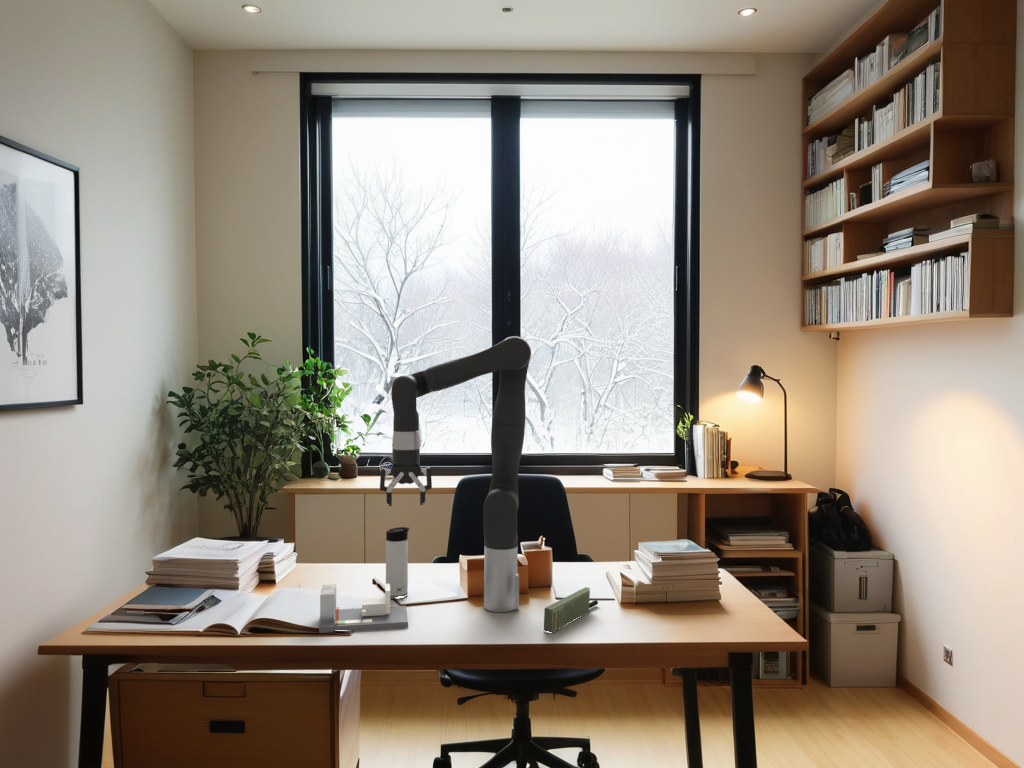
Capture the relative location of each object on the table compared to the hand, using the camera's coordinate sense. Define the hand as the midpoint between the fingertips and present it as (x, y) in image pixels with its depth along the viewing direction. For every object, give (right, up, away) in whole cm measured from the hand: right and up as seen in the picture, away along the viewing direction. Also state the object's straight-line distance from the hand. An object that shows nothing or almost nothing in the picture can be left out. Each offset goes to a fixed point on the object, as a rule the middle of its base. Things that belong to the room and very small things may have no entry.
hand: (405, 505), depth 195 cm
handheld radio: (+46, -29, -8) cm, 55 cm away
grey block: (-18, -27, -12) cm, 35 cm away
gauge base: (-9, -28, -12) cm, 32 cm away
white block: (-6, -27, -11) cm, 29 cm away
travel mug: (-4, -28, +8) cm, 29 cm away
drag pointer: (-15, -27, -17) cm, 35 cm away
